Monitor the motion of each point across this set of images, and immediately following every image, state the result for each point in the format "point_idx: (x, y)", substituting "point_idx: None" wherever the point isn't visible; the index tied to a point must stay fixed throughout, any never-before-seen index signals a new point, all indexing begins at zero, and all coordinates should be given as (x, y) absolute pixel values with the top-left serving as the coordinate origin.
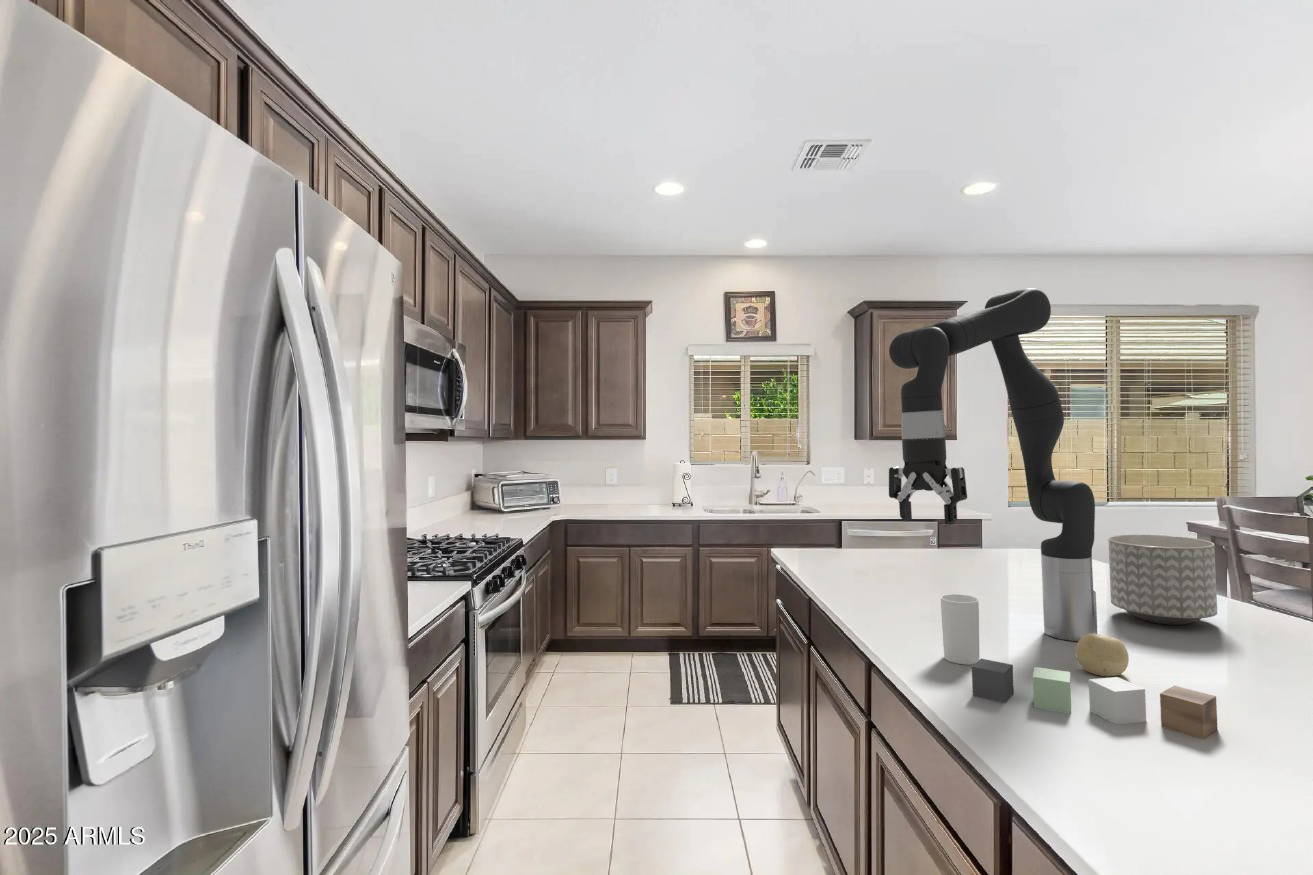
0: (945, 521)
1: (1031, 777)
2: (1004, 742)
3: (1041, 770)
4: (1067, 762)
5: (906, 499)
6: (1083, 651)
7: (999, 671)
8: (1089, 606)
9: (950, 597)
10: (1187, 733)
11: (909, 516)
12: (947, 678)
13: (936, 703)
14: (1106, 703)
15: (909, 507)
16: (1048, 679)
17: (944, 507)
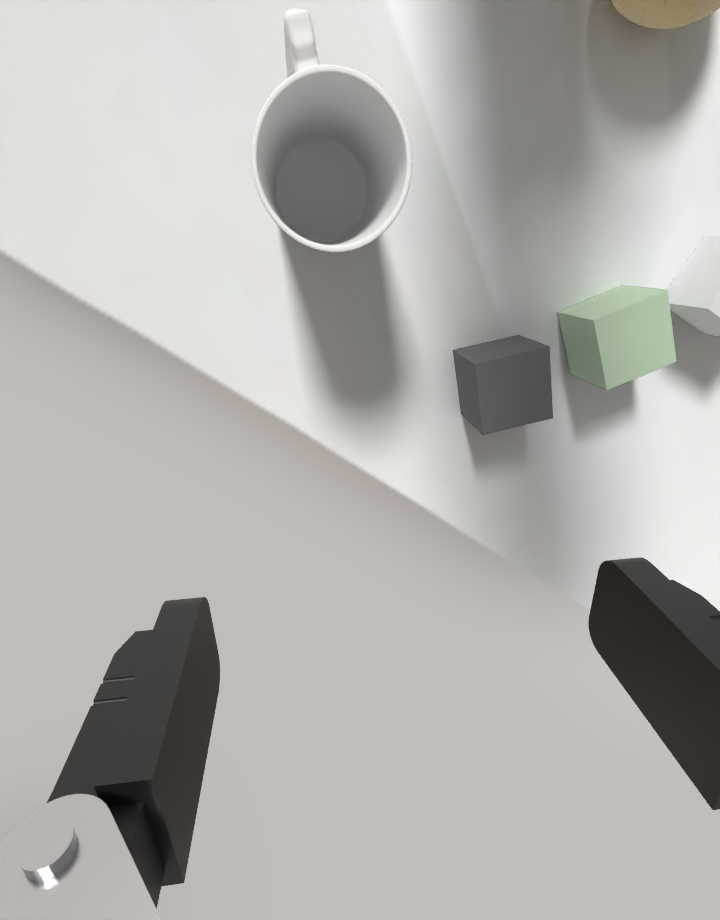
0: (606, 654)
1: None
2: (574, 541)
3: None
4: (657, 528)
5: (147, 882)
6: (659, 5)
7: (541, 415)
8: None
9: (265, 124)
10: None
11: (205, 651)
12: (375, 366)
13: (430, 501)
14: (714, 328)
15: (182, 730)
16: (636, 377)
17: (692, 774)
